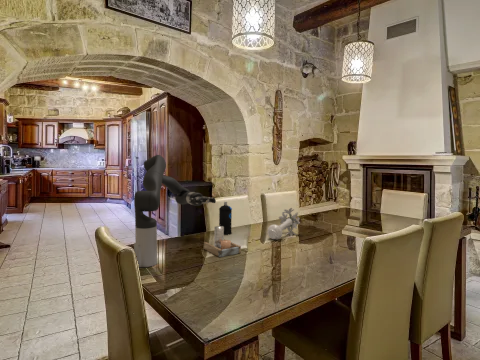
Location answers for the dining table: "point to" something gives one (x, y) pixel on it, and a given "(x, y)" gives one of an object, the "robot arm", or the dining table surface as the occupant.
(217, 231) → the shaft
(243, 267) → the dining table surface
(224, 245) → the cylinder
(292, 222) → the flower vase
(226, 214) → the aerosol can
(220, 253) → the channel
